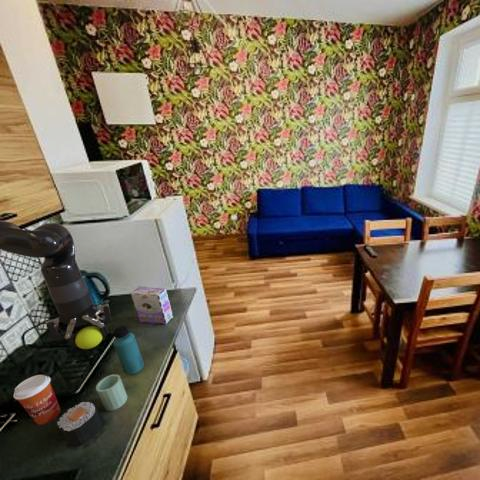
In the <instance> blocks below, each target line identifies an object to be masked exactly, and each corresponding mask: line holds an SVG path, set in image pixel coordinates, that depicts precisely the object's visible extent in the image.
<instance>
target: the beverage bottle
mask: <svg viewBox="0 0 480 480" xmlns="http://www.w3.org/2000/svg"><path fill="white" fill-rule="evenodd" d="M113 337H114V338H115V339H114V340H113V341H112V345H113V346H114V349H115V352H116V354H117V358H118V360H119V363H120V364H121V365H120V366H121V368H122V371H123V372H124V374H125V375H127V376H132V375H135V374H137V373H139V372H140V371H142V369H143V368H144V366H145V361H144V358H143V356H142V353H141V350H140V347H139V345H138V342H137V340H136V336H135V334H134V333H132V332H130V331H129V328H128V327H127V326H126V325H121V326H119V327H116V328H115V329H114V330H113Z"/></svg>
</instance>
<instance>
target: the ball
mask: <svg viewBox="0 0 480 480" xmlns="http://www.w3.org/2000/svg"><path fill="white" fill-rule="evenodd" d="M103 338H104V337H103V336H102V334H101V331H100V327H99V326H95V325H93V326H92V325H91V326H86V327H84V328H82V329H80V330H79V331H78V332H77V333H76V334H75V343H76V345H77V347H78V348H79V349H82V350H89V349H93V348H96V347H97V346H98V345H99V344H101V342H102V341H103Z"/></svg>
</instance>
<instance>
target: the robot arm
mask: <svg viewBox="0 0 480 480" xmlns="http://www.w3.org/2000/svg"><path fill="white" fill-rule="evenodd" d="M75 250H76V249H75V242H74V238H73V236H72V234H71V232H70V230H68V228H67V227H65V226H64V225H63V224H60V223H56V222H47V223H43V224H41V225H39V226H38V227H36V228H33V229H31V230H29V229H21V228H20V227H19V225H18V224H17V223H14V222H11V221H7V220H0V251H3V252H4V251H5V252H6V253H7V252H8V253H11V254H15V255H18V256H23V257H28V258H35V259H41V258H43V259H44V260H43V263H42V265H41V266H40V272H41V275H42V277H43V280H44V282H45V284H46V286H47V290H48V293H49V297H50V299H51V301H52V302H53V305H54V307H55V309H56V311H57V314H58V317H55V318H49V319H47V322H46V325H45V327H46V328H47V330H48V331H49V332H50V334H51V335H52V336H53V338H54V339H55V340H56V341H59V340H61V339H65V340H66V341H67V343H68V346H69V347H70V348H71V347H73V348H74V349H75V348H77V347H78V346H77V345H76V343H75V337H76V335H75V334H74V333H73V331H74V328H77V327H81V326H83V325H87V324H90V323H91V324H92V325H93V326H96V327H98V328H99V329H100V331H101V334H102V336H103V338H106V337H107V335H109V329H108V327H107V325H109V324H111V323H112V314H111V310H110V304H109V303H108V302H104V303H103V304H102V305H101V304H100V305H96V304H95V303H94V301H93V299H92V295H91V293H90V291H89V288H88V286H87V283H86V281H85V279H84V278H83V275H82V273H81V271H80V268H79V266H78V264H77V262H76V261H77V260H76V251H75ZM98 311H100V313H102V314H104V319H103V318H101V317H100V316H99V315H98V314H97V312H98ZM60 323H63V324H65V325H67V327H66V329H65V331H62V329H61V328H60V327H59V324H60Z"/></svg>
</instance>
